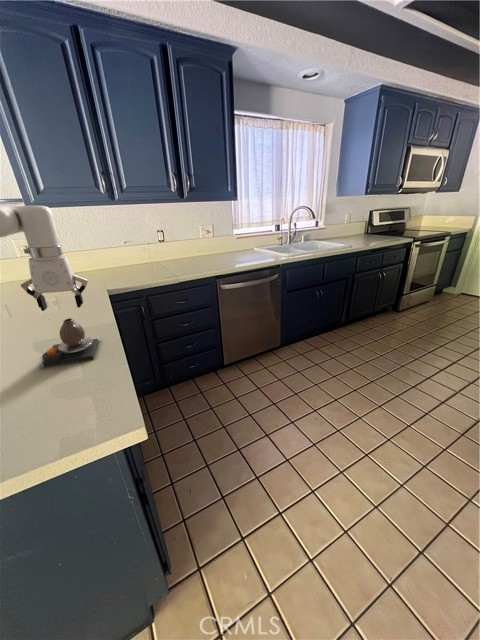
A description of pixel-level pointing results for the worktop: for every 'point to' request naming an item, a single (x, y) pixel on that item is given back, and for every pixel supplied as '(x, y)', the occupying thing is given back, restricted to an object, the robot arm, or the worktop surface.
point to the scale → (70, 355)
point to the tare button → (52, 352)
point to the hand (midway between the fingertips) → (62, 307)
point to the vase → (71, 333)
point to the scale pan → (71, 349)
